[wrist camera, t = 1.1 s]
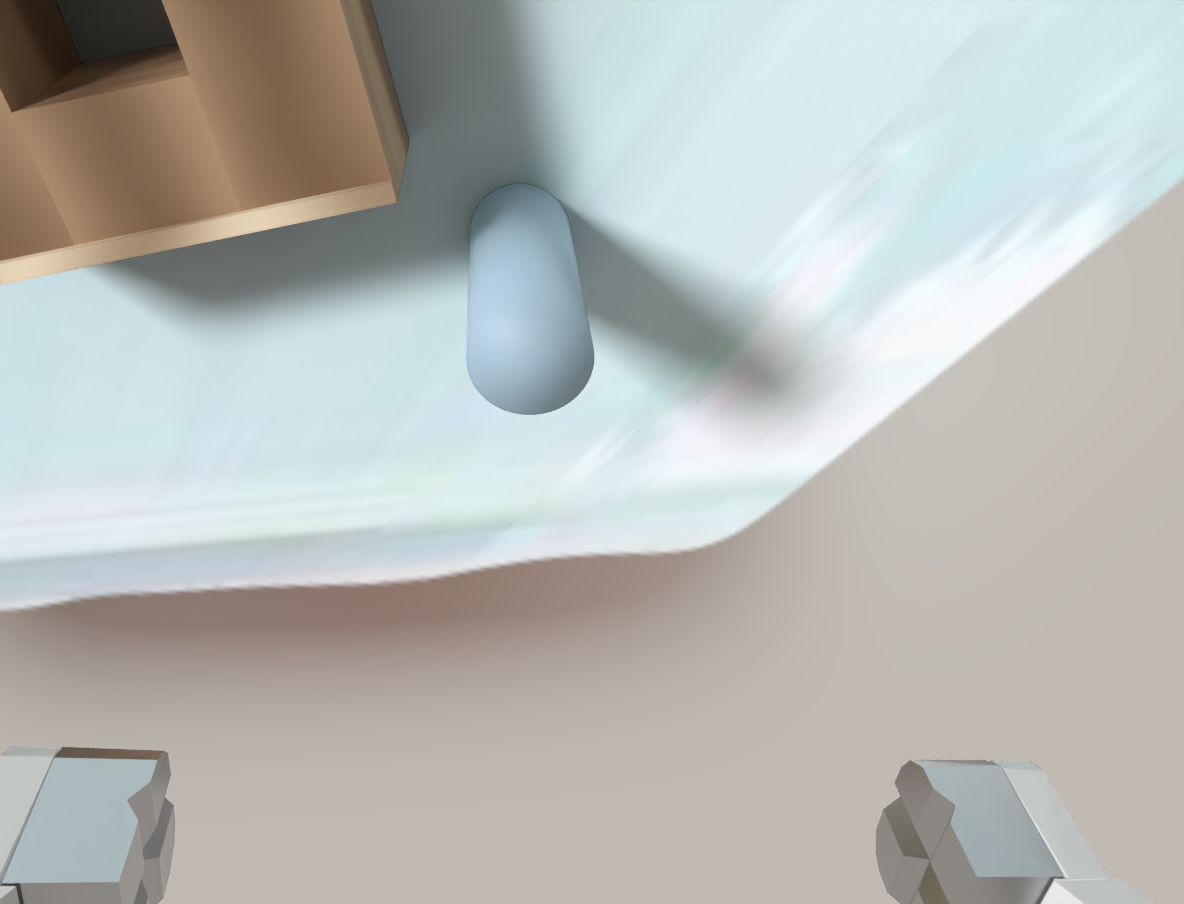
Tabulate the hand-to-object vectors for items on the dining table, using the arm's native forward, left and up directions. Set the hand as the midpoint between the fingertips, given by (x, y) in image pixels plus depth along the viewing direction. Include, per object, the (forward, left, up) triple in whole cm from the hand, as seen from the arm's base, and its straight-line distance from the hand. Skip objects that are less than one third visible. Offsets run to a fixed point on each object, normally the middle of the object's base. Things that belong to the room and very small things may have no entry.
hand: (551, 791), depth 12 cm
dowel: (0, +4, -29) cm, 29 cm away
